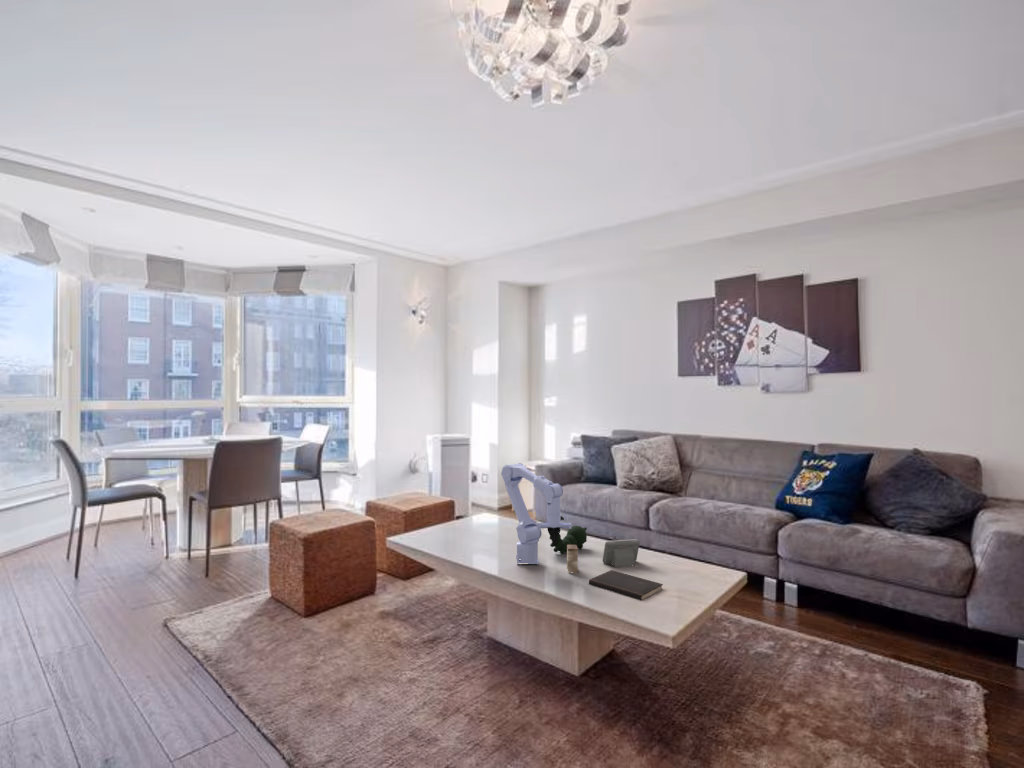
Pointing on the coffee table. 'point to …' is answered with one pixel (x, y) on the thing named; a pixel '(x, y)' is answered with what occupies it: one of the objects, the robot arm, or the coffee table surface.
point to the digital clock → (621, 552)
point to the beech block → (572, 558)
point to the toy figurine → (571, 539)
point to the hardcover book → (626, 584)
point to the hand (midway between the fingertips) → (554, 545)
